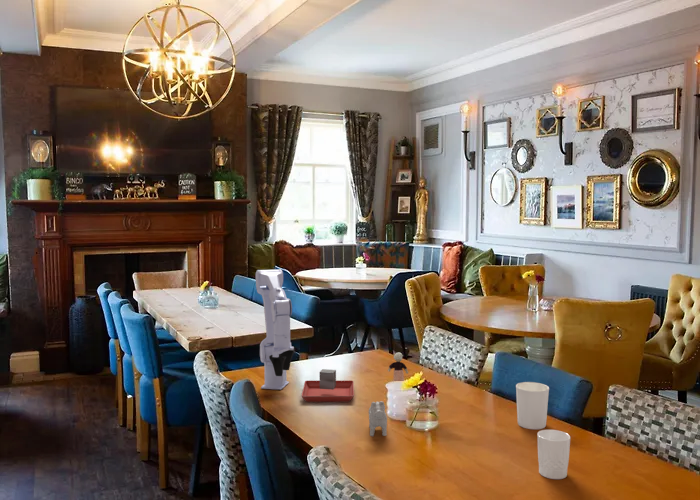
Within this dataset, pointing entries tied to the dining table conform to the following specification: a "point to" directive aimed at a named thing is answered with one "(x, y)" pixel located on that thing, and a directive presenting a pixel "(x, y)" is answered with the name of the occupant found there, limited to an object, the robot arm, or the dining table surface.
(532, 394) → the candle holder
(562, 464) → the white cup
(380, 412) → the dog figurine
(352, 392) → the plant saucer
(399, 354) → the grandmother figurine
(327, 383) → the charcoal block
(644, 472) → the dining table surface
